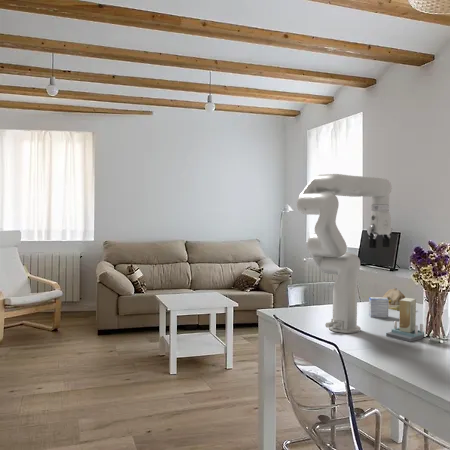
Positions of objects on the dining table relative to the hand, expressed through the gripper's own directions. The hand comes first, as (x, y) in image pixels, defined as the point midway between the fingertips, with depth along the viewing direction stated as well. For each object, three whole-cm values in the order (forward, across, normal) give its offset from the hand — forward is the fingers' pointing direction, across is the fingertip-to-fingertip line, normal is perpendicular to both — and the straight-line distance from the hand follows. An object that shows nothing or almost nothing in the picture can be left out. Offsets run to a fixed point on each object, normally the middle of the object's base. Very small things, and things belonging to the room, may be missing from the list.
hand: (379, 247), depth 210 cm
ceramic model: (+33, +31, +11) cm, 46 cm away
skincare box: (+30, -14, -23) cm, 41 cm away
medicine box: (+33, +6, +4) cm, 33 cm away
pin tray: (+32, -14, -23) cm, 42 cm away
